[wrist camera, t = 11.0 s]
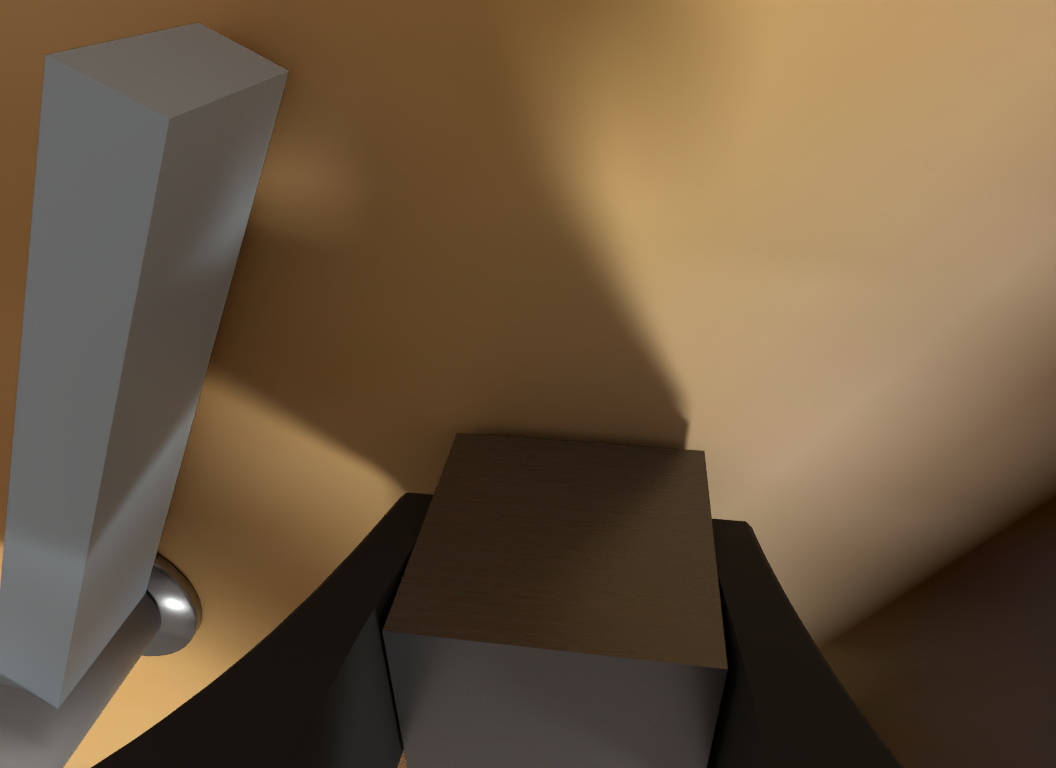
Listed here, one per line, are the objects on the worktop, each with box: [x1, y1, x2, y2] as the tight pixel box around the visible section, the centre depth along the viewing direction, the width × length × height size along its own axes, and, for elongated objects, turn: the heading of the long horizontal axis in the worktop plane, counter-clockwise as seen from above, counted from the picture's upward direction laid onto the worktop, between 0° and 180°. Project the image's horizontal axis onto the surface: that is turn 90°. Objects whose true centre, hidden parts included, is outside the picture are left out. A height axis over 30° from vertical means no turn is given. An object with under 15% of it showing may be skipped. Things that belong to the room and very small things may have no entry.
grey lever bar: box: [0, 22, 289, 768], centre depth 11 cm, size 14×2×3 cm, turn 154°
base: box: [142, 554, 202, 656], centre depth 16 cm, size 4×4×1 cm
